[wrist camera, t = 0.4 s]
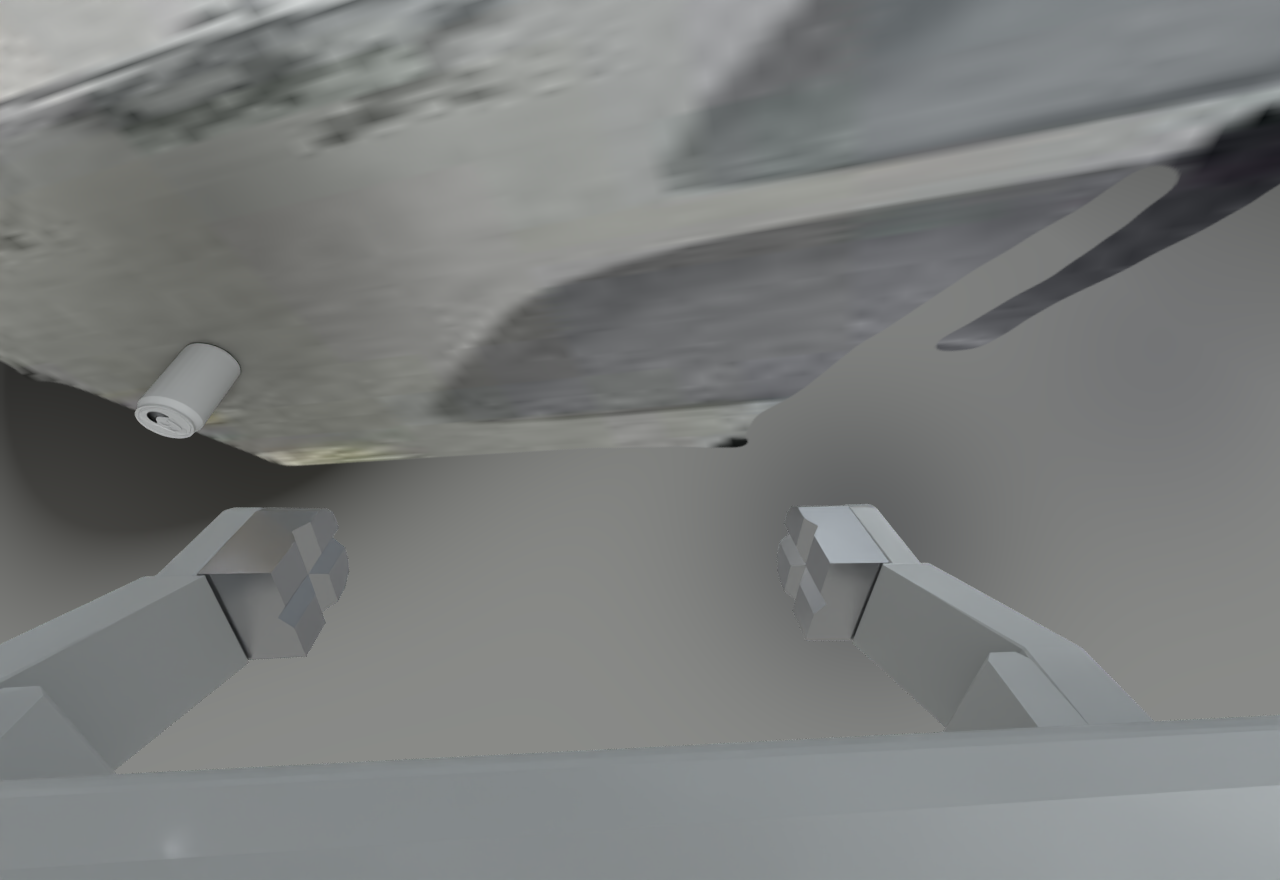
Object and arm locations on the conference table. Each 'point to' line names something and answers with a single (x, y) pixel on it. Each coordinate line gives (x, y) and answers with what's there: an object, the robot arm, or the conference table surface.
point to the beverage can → (188, 391)
